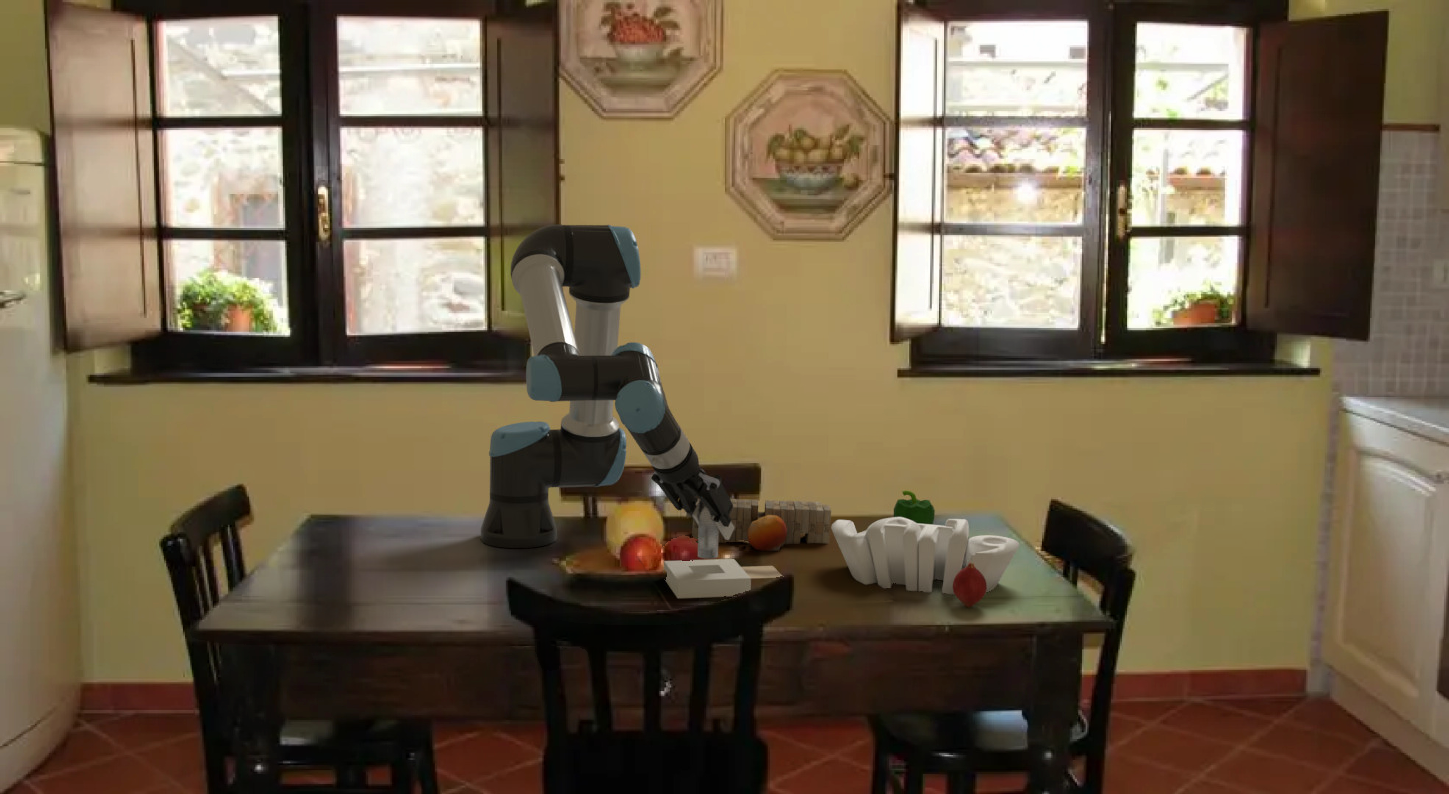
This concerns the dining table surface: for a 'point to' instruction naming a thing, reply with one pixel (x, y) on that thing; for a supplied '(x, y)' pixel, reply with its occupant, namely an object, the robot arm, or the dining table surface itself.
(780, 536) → the fruit
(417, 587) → the dining table surface
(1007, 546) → the white wavy slab sculpture
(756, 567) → the coaster
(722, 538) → the block tower
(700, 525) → the pin
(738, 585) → the slot block
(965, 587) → the onion
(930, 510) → the bell pepper
